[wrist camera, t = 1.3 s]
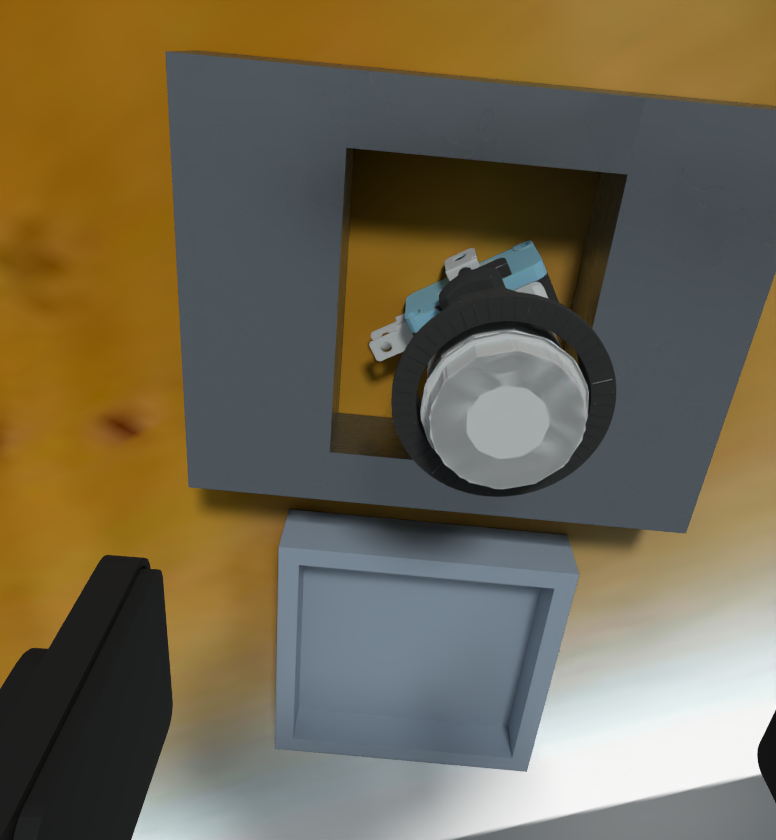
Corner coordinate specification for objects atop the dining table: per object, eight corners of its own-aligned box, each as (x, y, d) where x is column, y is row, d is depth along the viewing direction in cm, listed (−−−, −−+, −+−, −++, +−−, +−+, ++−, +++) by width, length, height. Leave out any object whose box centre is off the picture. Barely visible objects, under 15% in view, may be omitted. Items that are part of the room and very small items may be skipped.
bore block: (780, 106, 22) (829, 115, 19) (661, 487, 29) (685, 533, 26) (196, 50, 22) (165, 51, 19) (210, 445, 28) (188, 487, 26)
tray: (567, 535, 30) (579, 574, 28) (520, 725, 35) (526, 771, 33) (289, 509, 30) (278, 546, 28) (284, 704, 35) (275, 748, 33)
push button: (405, 395, 27) (398, 564, 18) (340, 269, 25) (296, 393, 16) (574, 324, 26) (656, 473, 17) (520, 184, 23) (581, 269, 15)
